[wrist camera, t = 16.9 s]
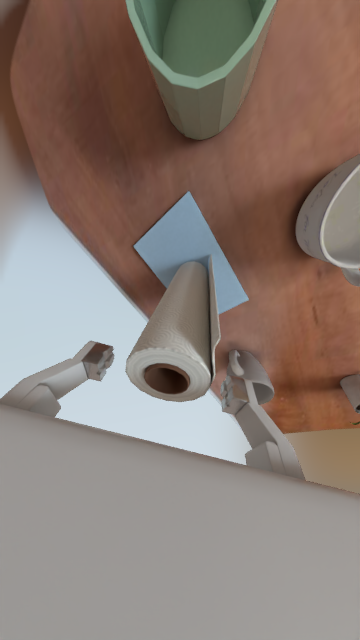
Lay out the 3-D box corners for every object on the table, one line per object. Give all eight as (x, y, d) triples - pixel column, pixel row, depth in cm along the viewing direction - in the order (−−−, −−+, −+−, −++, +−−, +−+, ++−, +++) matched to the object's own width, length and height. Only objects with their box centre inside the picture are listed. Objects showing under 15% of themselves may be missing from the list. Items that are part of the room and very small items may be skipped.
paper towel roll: (182, 295, 30) (146, 405, 12) (171, 266, 27) (105, 356, 9) (218, 287, 28) (236, 404, 10) (211, 253, 25) (221, 340, 7)
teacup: (291, 176, 19) (335, 155, 12) (408, 135, 16) (549, 77, 9) (281, 280, 26) (306, 302, 19) (361, 266, 23) (421, 285, 16)
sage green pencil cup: (154, 130, 18) (118, 71, 11) (164, -54, 12) (103, -440, 5) (233, 148, 18) (250, 101, 11) (281, -29, 12) (388, -388, 5)
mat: (134, 245, 26) (132, 246, 26) (189, 191, 21) (188, 190, 21) (196, 324, 34) (196, 325, 33) (248, 298, 29) (248, 299, 28)
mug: (265, 363, 38) (281, 401, 30) (232, 372, 41) (238, 408, 34) (247, 331, 33) (259, 366, 25) (211, 344, 37) (212, 378, 29)
